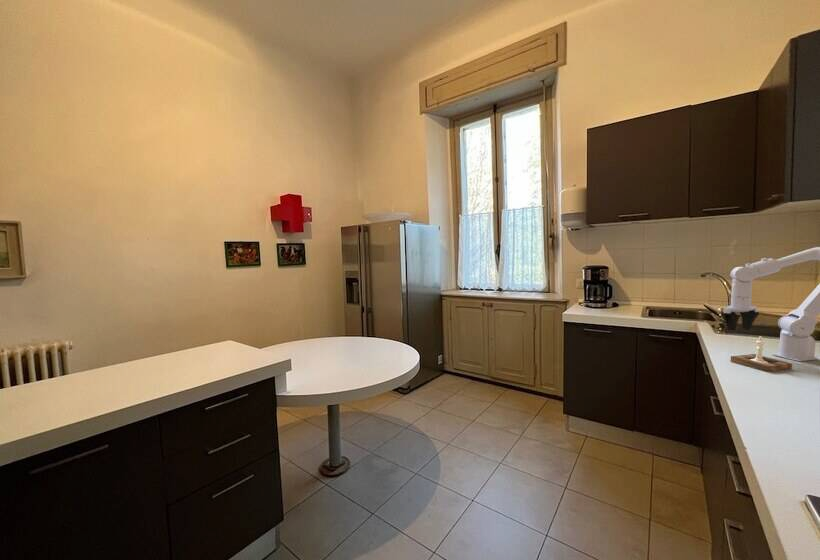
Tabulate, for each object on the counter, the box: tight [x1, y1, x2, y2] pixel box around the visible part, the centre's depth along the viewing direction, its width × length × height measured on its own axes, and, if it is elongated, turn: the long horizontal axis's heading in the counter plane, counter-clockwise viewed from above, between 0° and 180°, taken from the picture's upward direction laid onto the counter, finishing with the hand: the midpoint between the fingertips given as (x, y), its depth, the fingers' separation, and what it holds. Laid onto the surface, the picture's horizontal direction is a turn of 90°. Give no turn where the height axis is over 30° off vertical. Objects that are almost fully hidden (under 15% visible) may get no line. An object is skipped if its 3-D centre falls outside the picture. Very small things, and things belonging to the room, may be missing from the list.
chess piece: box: [750, 336, 768, 364], centre depth 117 cm, size 5×5×10 cm
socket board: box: [730, 353, 793, 373], centre depth 117 cm, size 11×11×2 cm
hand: (739, 329), depth 131 cm, fingers open, 7 cm apart
